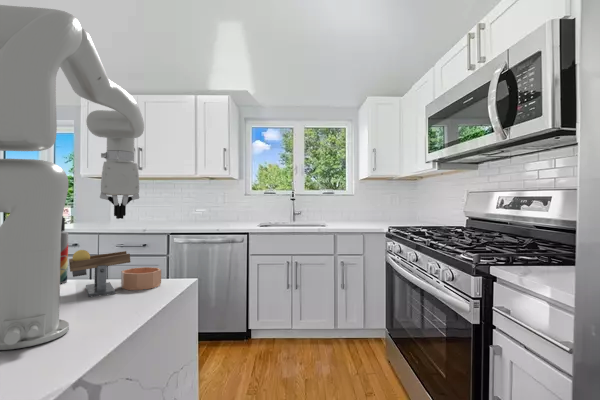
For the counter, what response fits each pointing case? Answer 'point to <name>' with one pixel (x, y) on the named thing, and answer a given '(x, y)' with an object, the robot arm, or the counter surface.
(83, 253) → the ball
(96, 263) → the tilt chute
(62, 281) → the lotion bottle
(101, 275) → the chute stand
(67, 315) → the counter surface
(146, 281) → the terracotta bowl
